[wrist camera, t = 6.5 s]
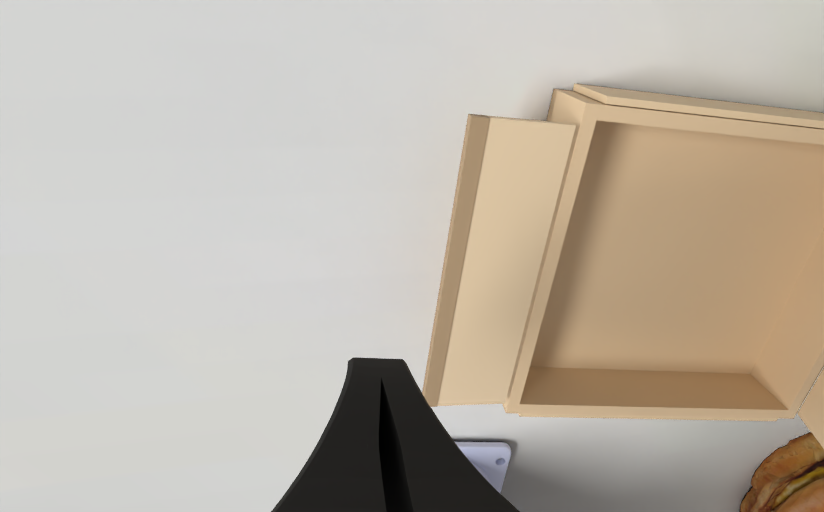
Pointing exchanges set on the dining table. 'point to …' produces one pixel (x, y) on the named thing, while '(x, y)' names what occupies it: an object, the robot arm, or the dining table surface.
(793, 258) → the carton
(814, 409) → the flap
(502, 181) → the flap
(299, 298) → the dining table surface
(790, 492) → the burger
